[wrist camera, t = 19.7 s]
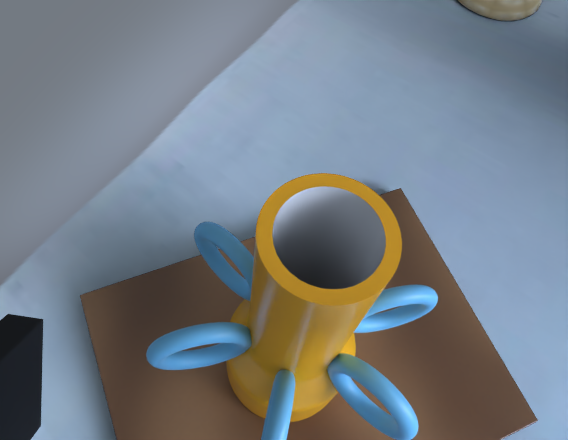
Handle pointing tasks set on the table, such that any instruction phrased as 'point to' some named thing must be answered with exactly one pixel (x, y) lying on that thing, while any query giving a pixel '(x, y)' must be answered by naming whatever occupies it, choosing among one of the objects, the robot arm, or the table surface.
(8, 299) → the table surface
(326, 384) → the cylinder
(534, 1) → the hand bell
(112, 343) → the plate
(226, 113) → the table surface
